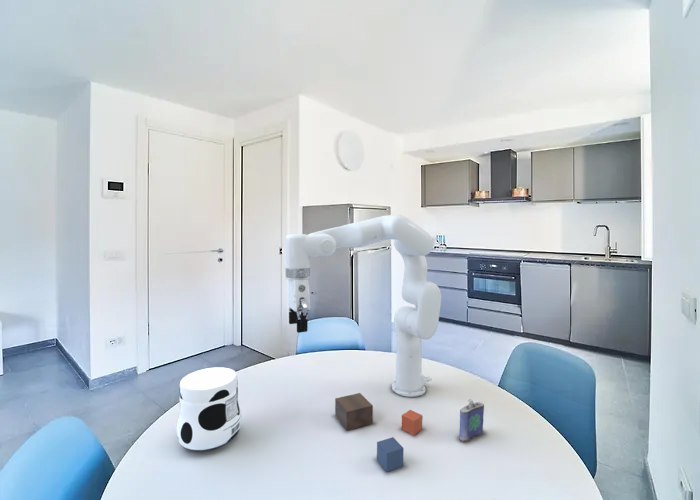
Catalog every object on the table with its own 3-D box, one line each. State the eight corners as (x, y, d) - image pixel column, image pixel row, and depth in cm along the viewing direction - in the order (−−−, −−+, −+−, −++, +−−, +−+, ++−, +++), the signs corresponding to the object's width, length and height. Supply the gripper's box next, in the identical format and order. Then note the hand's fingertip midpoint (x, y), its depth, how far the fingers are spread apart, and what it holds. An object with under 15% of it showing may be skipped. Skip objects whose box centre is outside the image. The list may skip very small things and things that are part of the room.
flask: (464, 443, 97) (464, 406, 96) (456, 438, 99) (456, 402, 99) (485, 433, 101) (486, 398, 101) (477, 428, 104) (478, 394, 103)
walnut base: (359, 409, 114) (359, 392, 114) (372, 423, 106) (372, 405, 106) (335, 416, 111) (335, 398, 110) (346, 431, 102) (346, 411, 102)
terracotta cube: (410, 423, 107) (410, 409, 106) (422, 429, 103) (422, 415, 103) (401, 429, 103) (401, 415, 103) (413, 435, 100) (414, 421, 100)
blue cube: (392, 454, 92) (393, 436, 91) (403, 466, 87) (403, 447, 87) (376, 459, 90) (376, 441, 89) (386, 472, 85) (386, 453, 85)
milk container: (179, 428, 103) (177, 371, 102) (238, 416, 110) (237, 362, 109) (174, 464, 88) (172, 397, 86) (244, 448, 94) (243, 385, 93)
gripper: (317, 276, 99) (317, 334, 100) (301, 269, 115) (301, 319, 116) (292, 278, 96) (293, 337, 97) (279, 270, 112) (280, 321, 113)
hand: (297, 327), depth 107 cm, fingers open, 9 cm apart
